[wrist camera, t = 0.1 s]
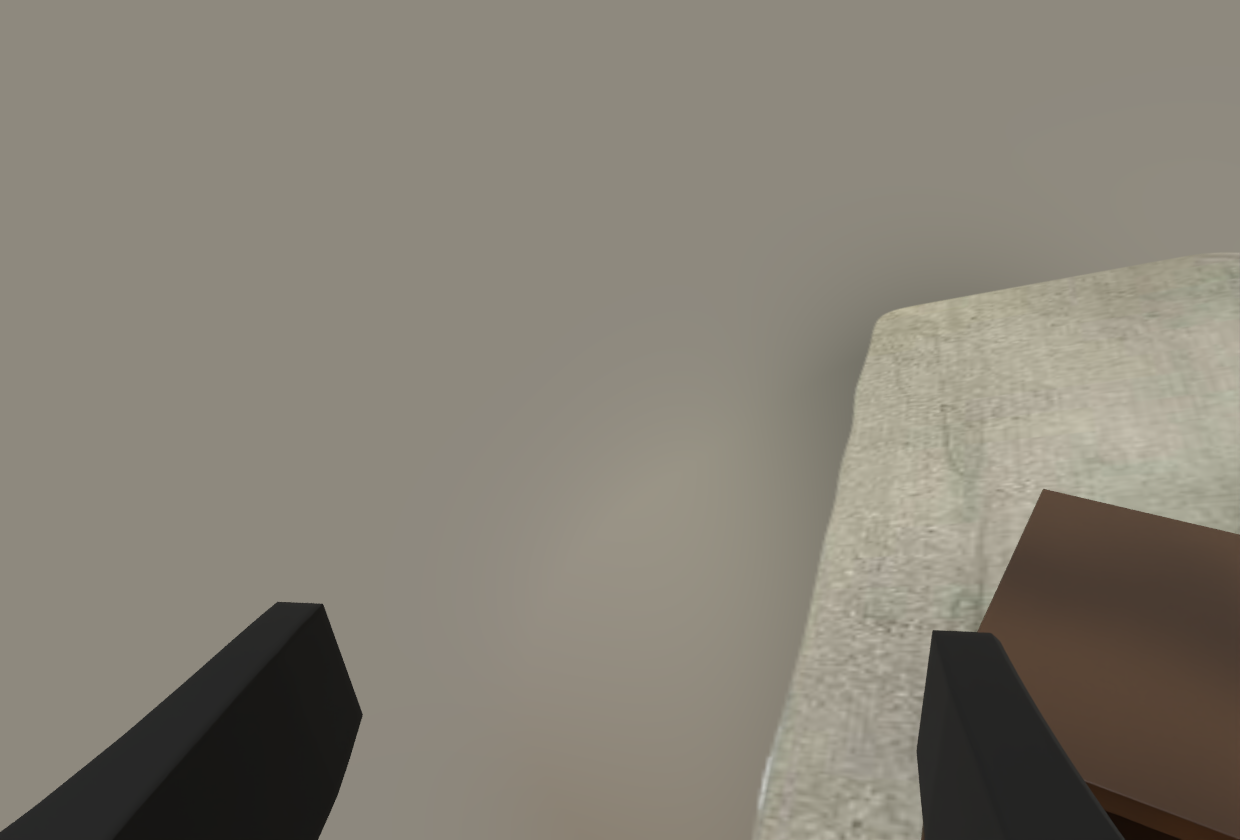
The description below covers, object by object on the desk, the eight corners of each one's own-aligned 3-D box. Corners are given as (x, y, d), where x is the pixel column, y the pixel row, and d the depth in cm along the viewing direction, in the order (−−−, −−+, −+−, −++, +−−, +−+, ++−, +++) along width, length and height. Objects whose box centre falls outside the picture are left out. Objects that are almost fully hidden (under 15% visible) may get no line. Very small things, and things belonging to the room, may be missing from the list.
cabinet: (1498, 1197, 23) (1658, 996, 19) (911, 911, 30) (934, 723, 26) (1451, 796, 33) (1550, 606, 28) (1014, 655, 40) (1043, 488, 36)
